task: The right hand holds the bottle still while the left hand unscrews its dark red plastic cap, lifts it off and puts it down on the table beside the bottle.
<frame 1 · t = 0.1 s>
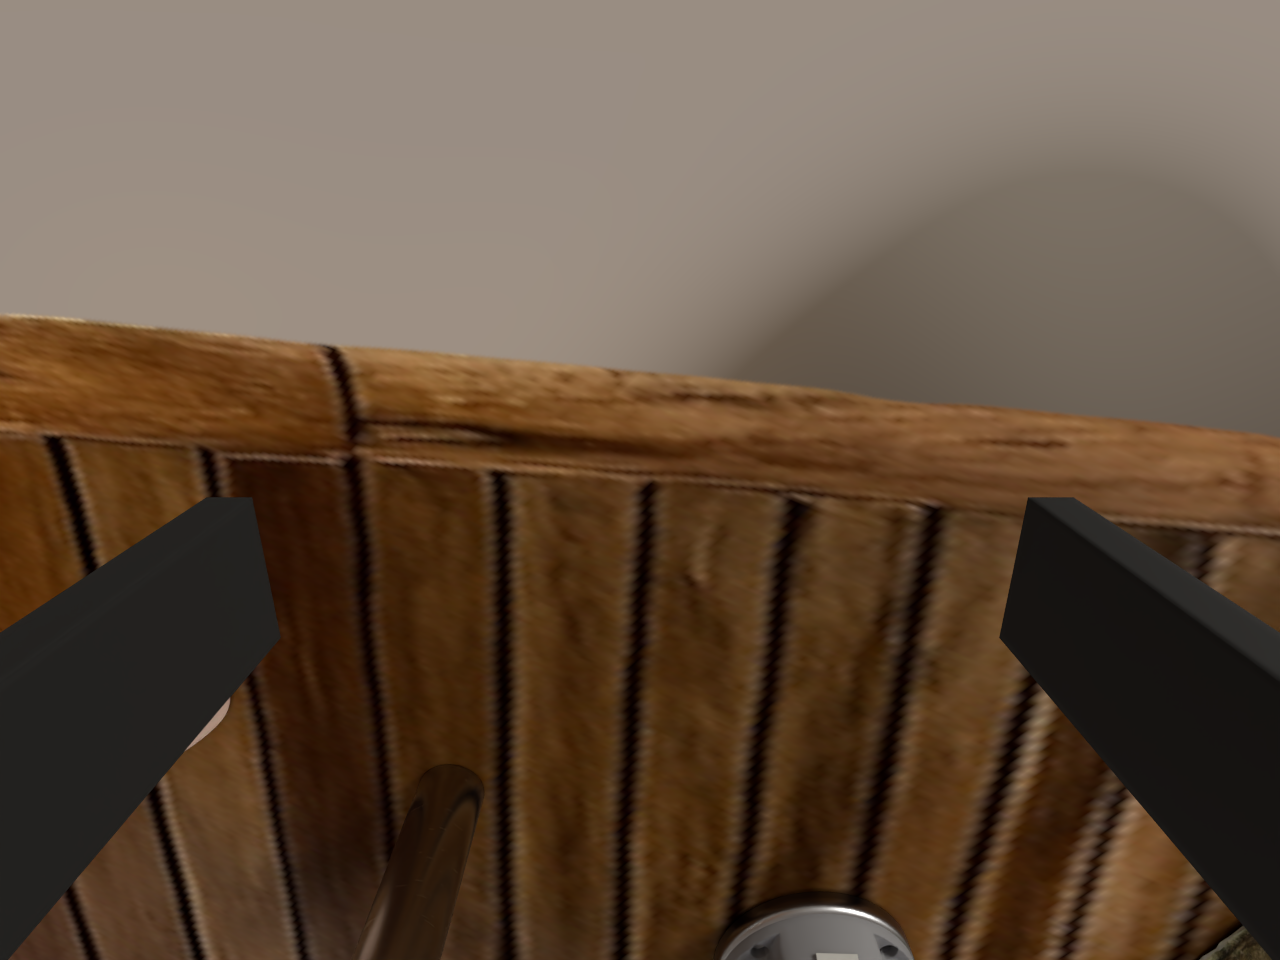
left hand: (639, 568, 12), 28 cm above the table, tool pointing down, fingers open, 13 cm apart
anatomical model: (141, 682, 47), on the table
bottle: (451, 790, 50), on the table
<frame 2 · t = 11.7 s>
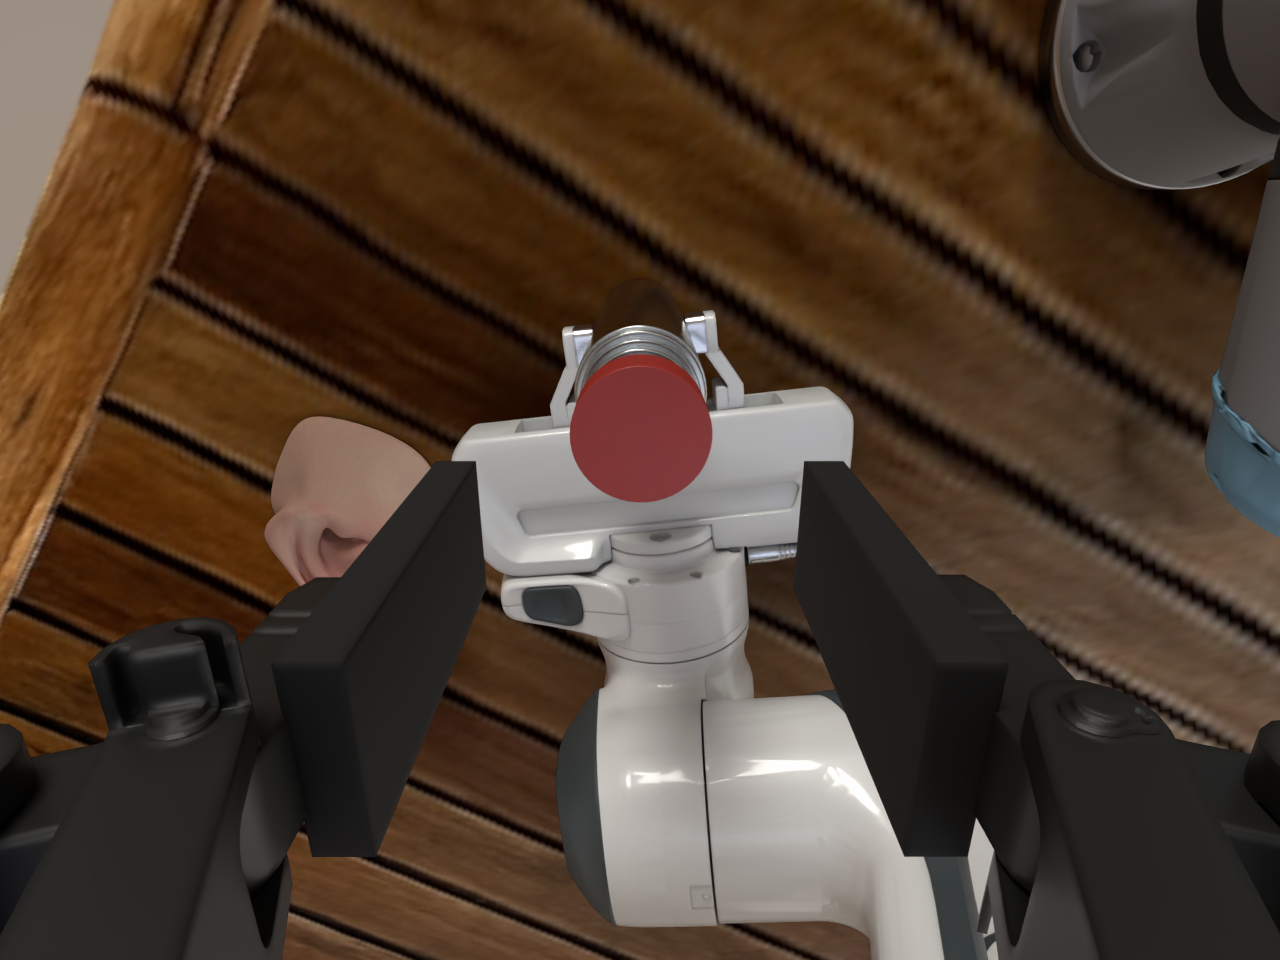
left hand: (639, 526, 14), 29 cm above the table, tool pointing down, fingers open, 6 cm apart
right hand: (637, 319, 35), fingers closed on bottle, 4 cm apart
anatomical model: (366, 516, 46), on the table
cap: (641, 433, 20), point 23 cm above the table, screwed on, not yet turned
bottle: (640, 319, 41), on the table, touching right hand
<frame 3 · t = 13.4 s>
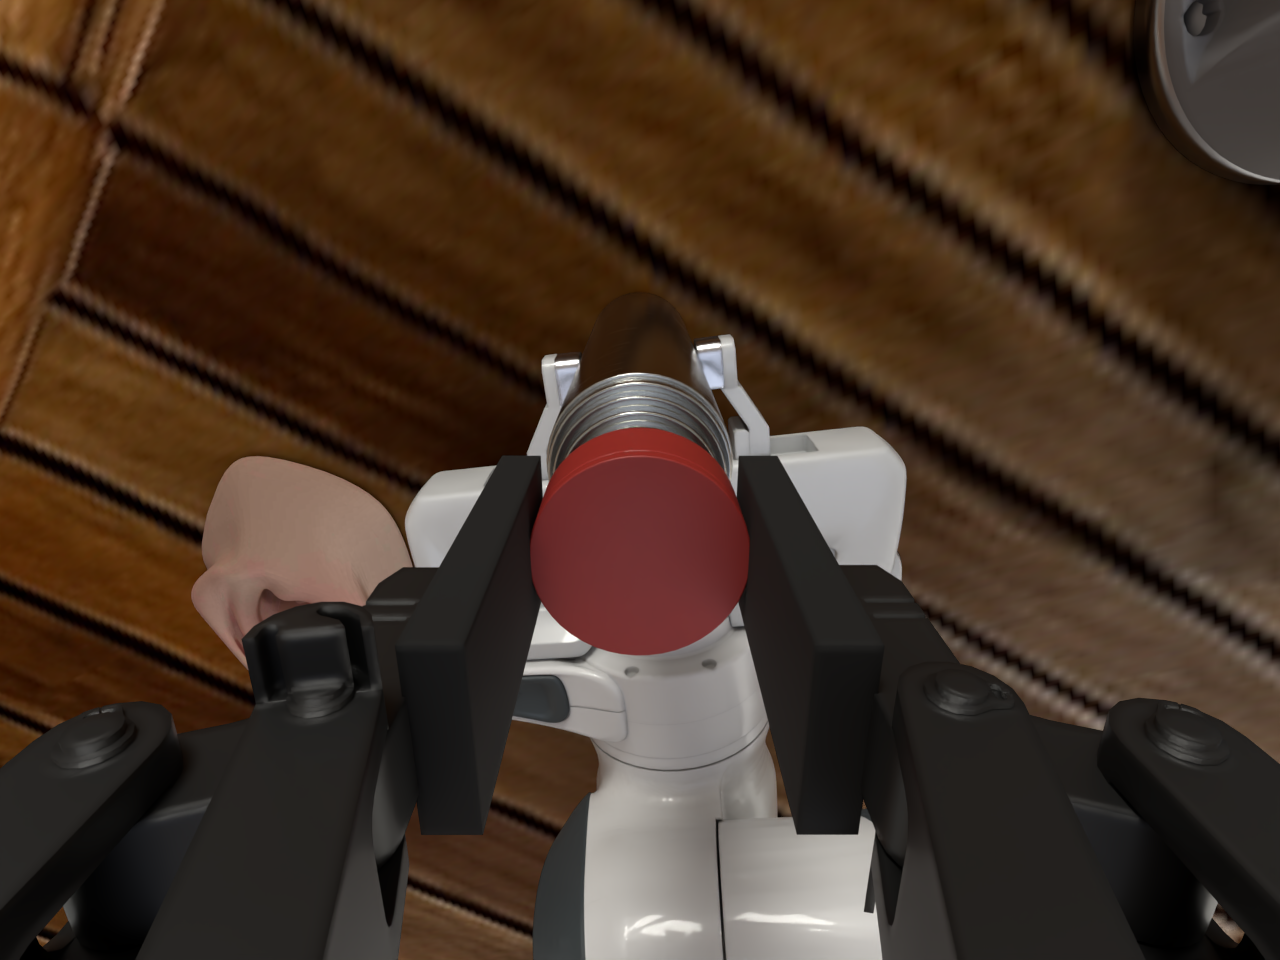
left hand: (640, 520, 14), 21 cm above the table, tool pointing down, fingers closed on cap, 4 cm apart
anatomical model: (316, 571, 39), on the table
cap: (639, 553, 13), point 23 cm above the table, screwed on, not yet turned, touching left hand
bottle: (639, 340, 34), on the table, touching right hand
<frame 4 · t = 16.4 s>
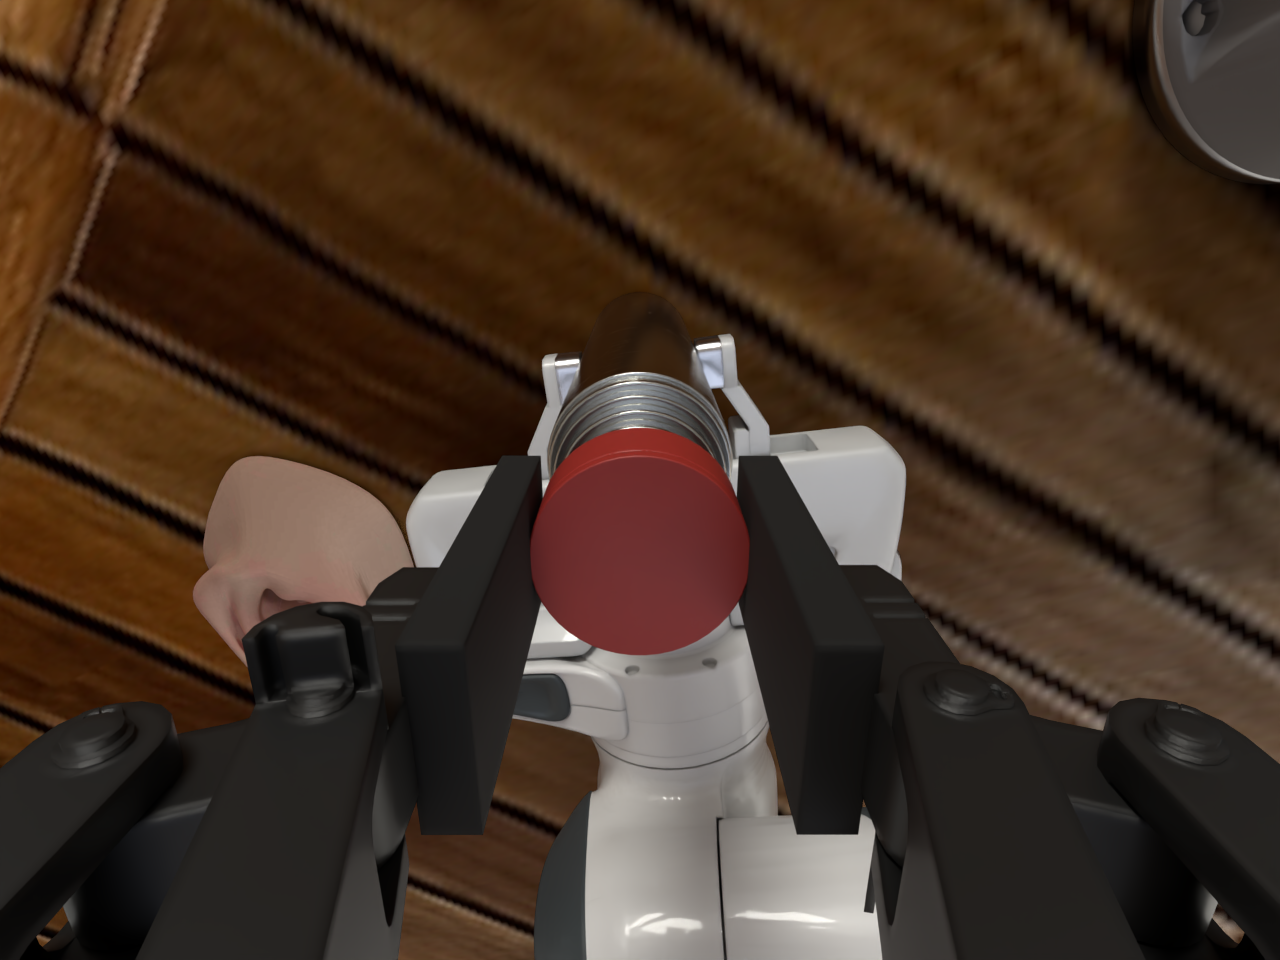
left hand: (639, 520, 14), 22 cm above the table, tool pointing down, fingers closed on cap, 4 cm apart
anatomical model: (317, 571, 39), on the table
cap: (639, 553, 13), point 23 cm above the table, turned 80° so far, risen 0.1 cm, still on its thread, touching left hand
bottle: (639, 340, 34), on the table, touching right hand
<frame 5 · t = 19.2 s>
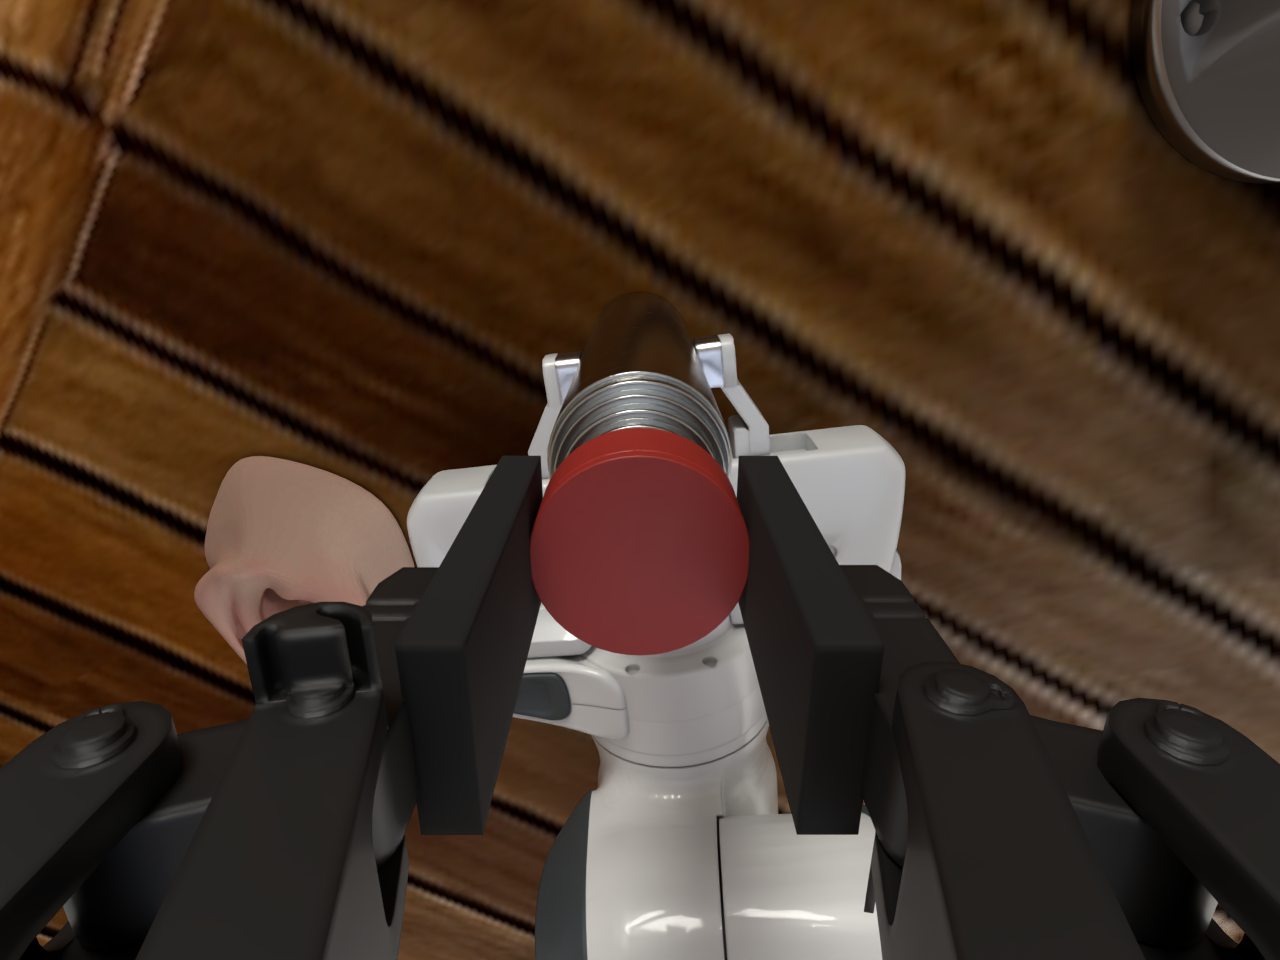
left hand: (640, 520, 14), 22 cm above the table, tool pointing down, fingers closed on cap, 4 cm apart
anatomical model: (318, 571, 39), on the table
cap: (639, 553, 13), point 23 cm above the table, turned 161° so far, risen 0.2 cm, still on its thread, touching left hand
bottle: (639, 340, 35), on the table, touching right hand
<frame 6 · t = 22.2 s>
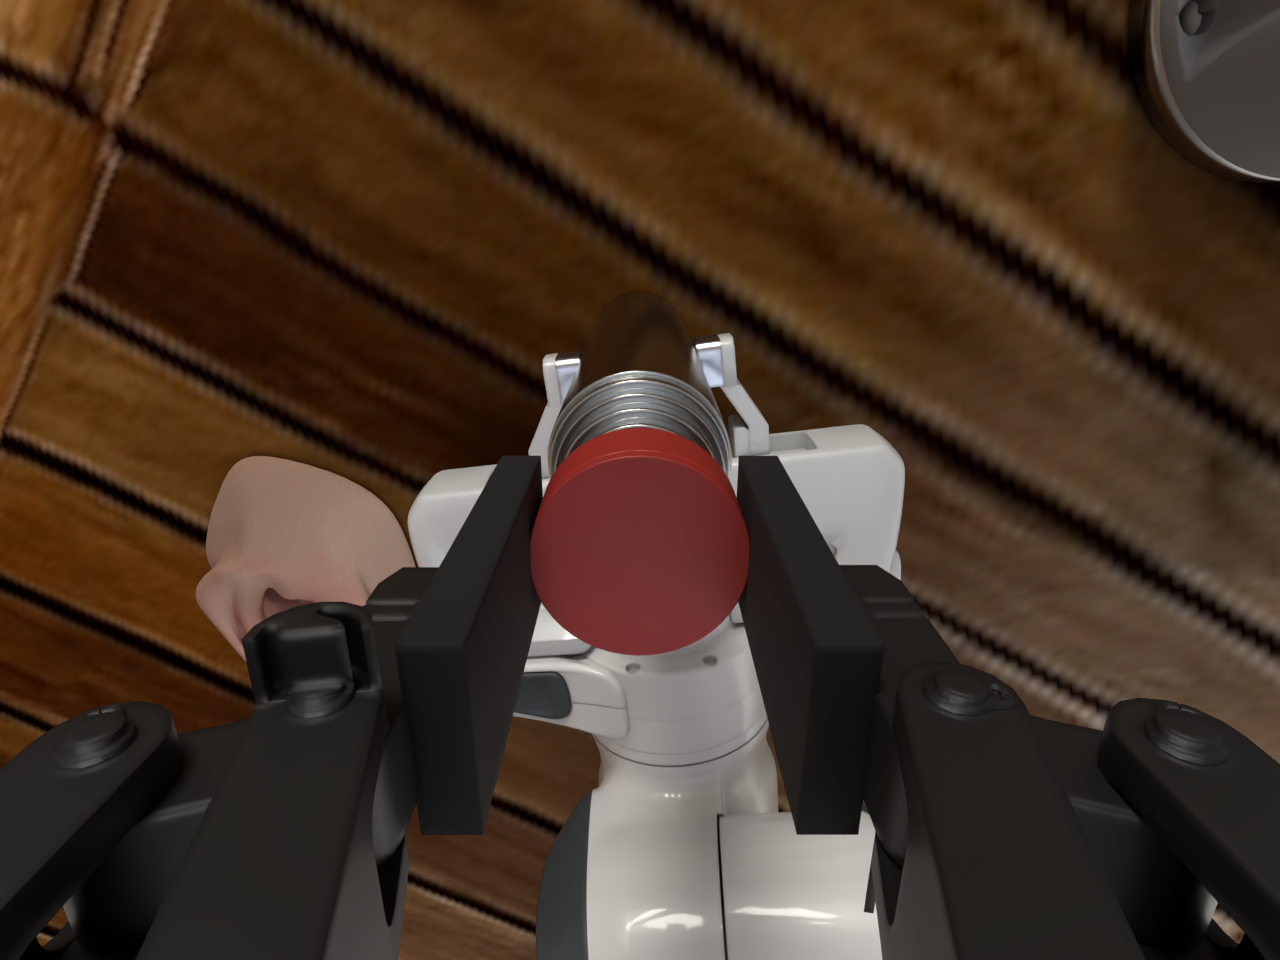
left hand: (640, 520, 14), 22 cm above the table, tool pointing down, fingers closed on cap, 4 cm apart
anatomical model: (319, 570, 39), on the table
cap: (639, 553, 13), point 23 cm above the table, turned 241° so far, risen 0.2 cm, still on its thread, touching left hand
bottle: (639, 340, 35), on the table, touching right hand
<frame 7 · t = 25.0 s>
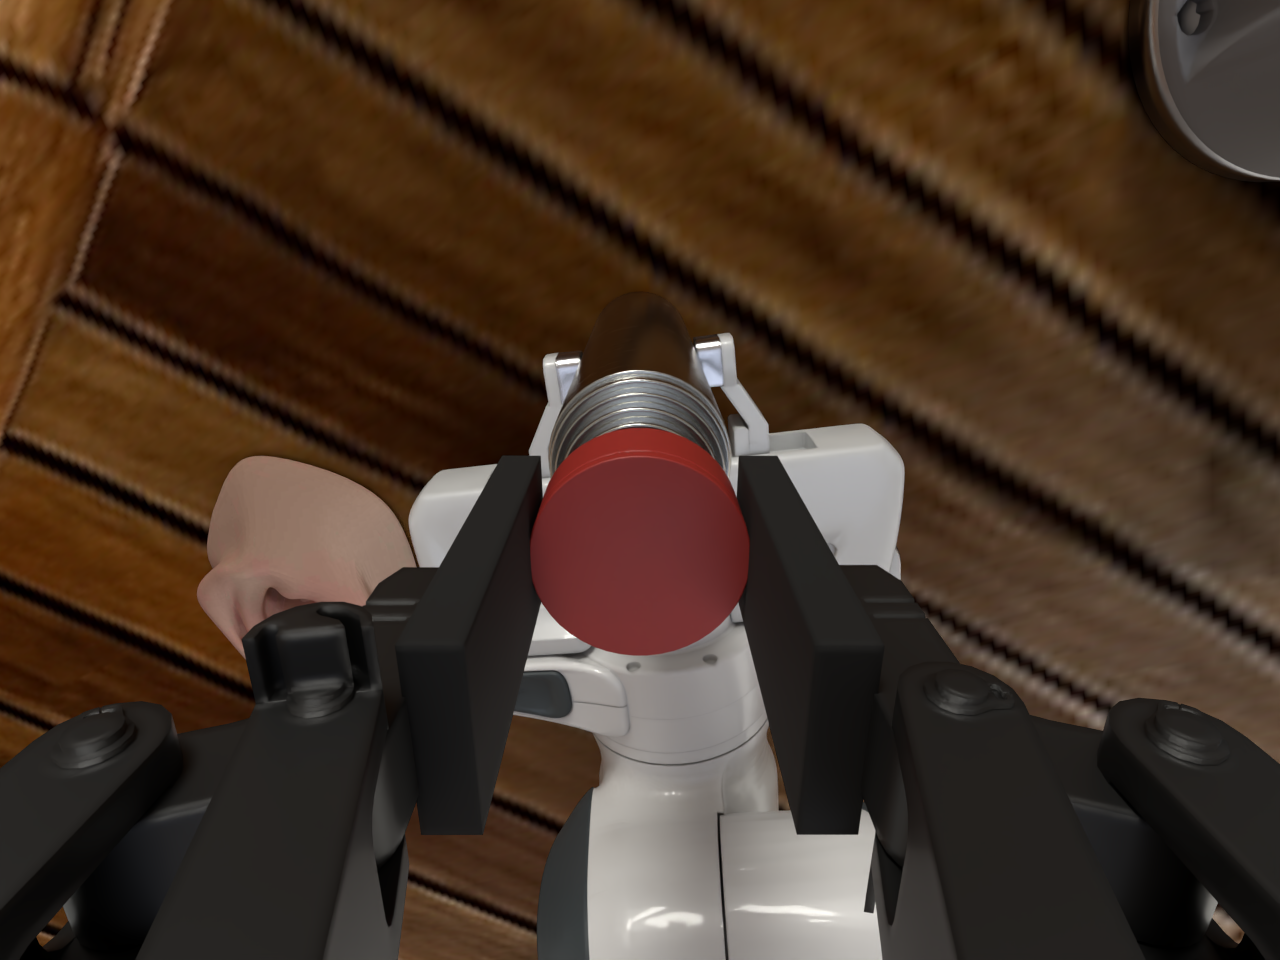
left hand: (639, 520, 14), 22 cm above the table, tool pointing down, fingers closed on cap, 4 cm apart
anatomical model: (320, 570, 39), on the table
cap: (639, 554, 13), point 23 cm above the table, turned 321° so far, risen 0.3 cm, still on its thread, touching left hand
bottle: (639, 339, 35), on the table, touching right hand
when the left hand's fingers open (2 cm above the table, at t = 33.3 s): cap drops 2 cm, point 1 cm above the table.
when the right hand's fingers open (7 cm above the table, at t = 34.6 s): bottle stays where it is, on the table.
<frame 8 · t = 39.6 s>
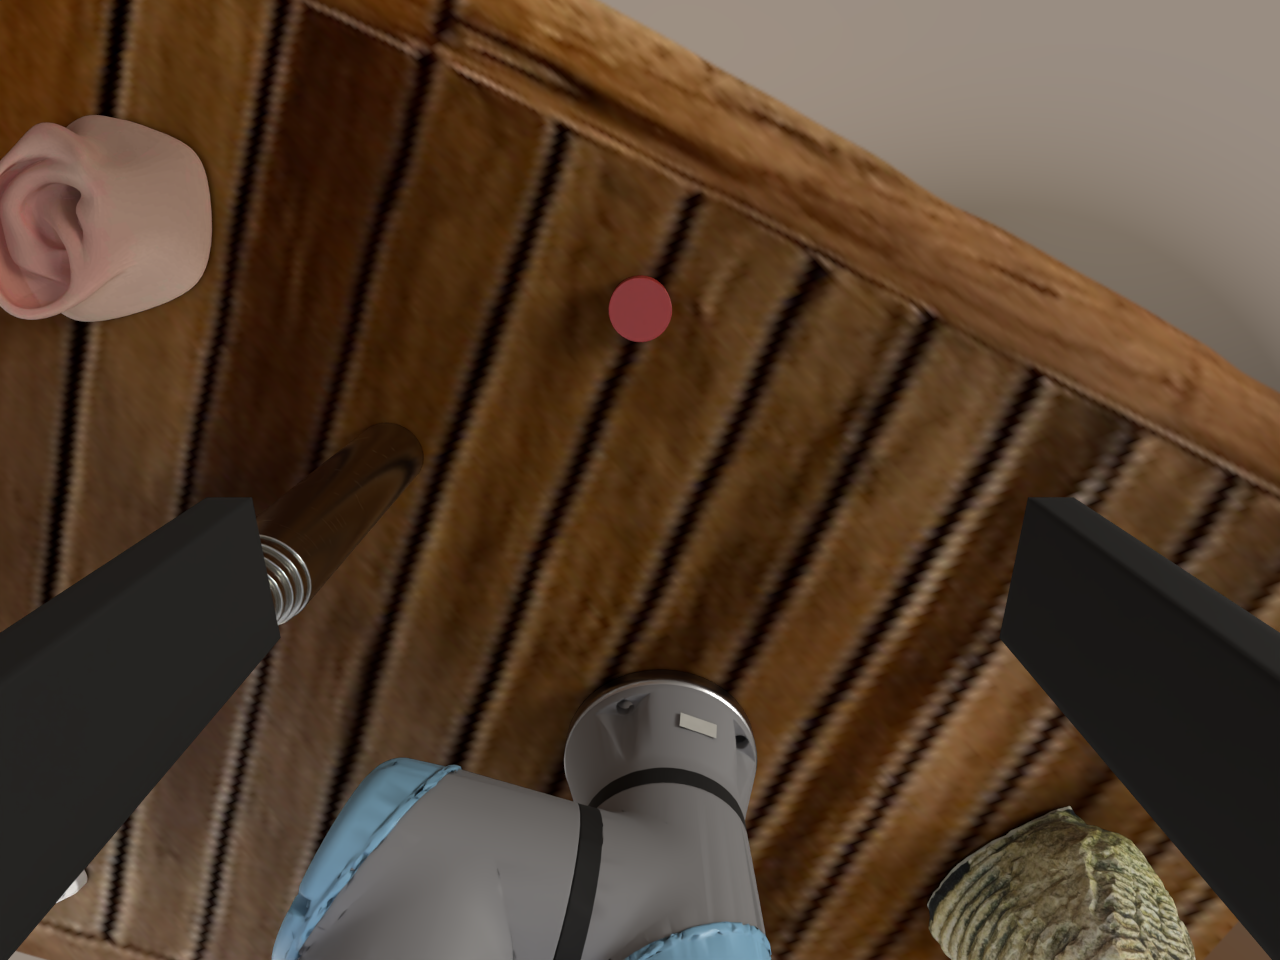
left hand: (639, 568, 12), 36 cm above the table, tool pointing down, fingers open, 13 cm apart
anatomical model: (115, 220, 44), on the table
cap: (640, 309, 45), point 1 cm above the table, off its thread
bottle: (390, 454, 50), on the table
fossil: (1011, 860, 63), on the table
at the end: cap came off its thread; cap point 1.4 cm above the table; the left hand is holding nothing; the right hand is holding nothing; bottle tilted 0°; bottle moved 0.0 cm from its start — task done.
